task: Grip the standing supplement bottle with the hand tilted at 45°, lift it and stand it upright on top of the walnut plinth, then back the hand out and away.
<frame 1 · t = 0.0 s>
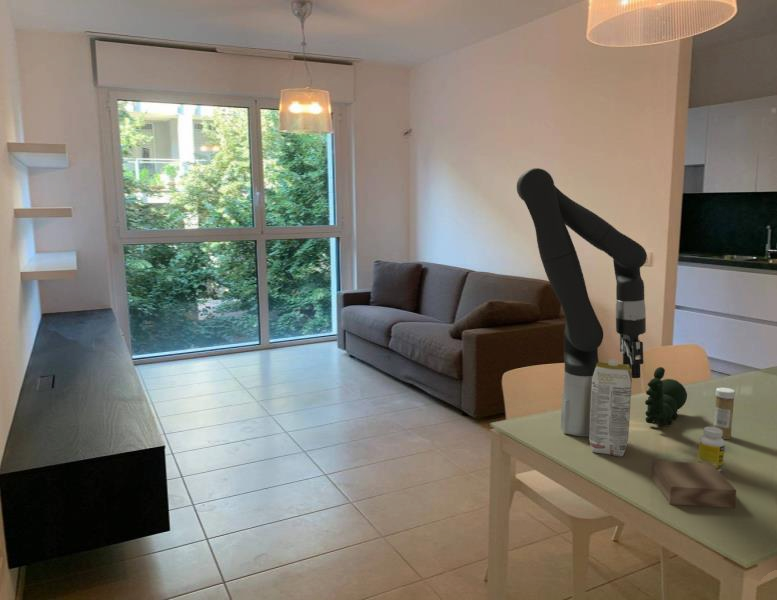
hand: (631, 373, 163), 17 cm above the table, tool pointing down, fingers open, 8 cm apart
supplement bottle: (709, 468, 144), on the table
sprinkles bottle: (721, 437, 163), on the table
walnut plinth: (690, 491, 132), on the table
toy figurine: (663, 420, 176), on the table
juice carton: (608, 451, 154), on the table
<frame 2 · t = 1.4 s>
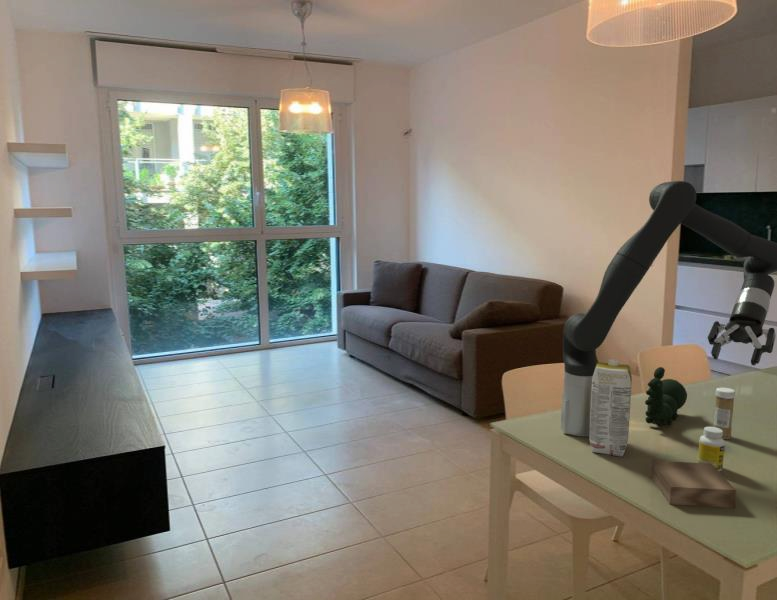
hand: (733, 360, 148), 25 cm above the table, tool tilted 45°, fingers open, 8 cm apart
nothing on the table moved.
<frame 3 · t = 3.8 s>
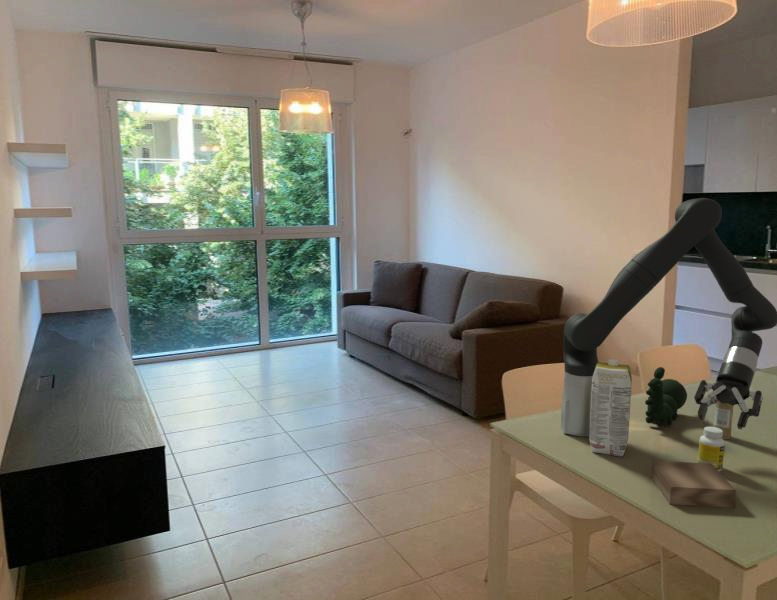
hand: (719, 423, 145), 10 cm above the table, tool tilted 45°, fingers open, 8 cm apart
nothing on the table moved.
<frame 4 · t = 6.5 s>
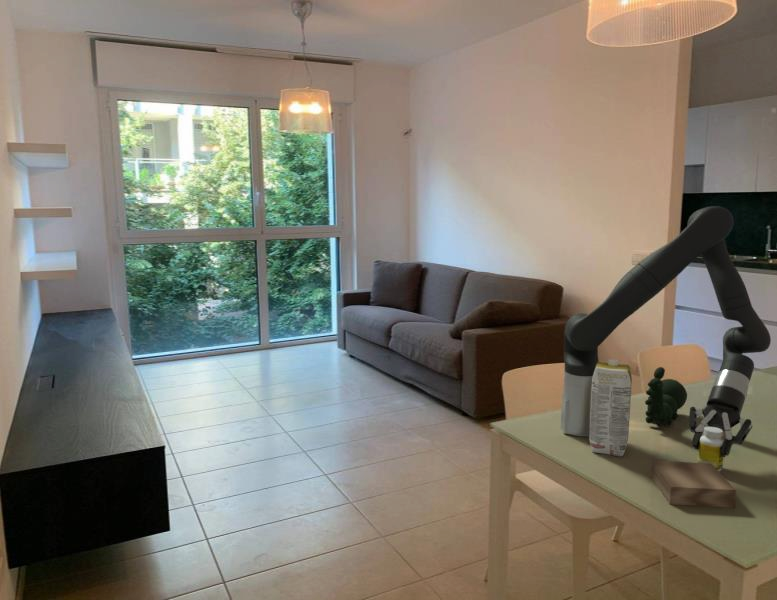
hand: (708, 451, 142), 5 cm above the table, tool tilted 45°, fingers closed on supplement bottle, 5 cm apart
supplement bottle: (709, 468, 144), on the table, touching gripper
everything else where it was.
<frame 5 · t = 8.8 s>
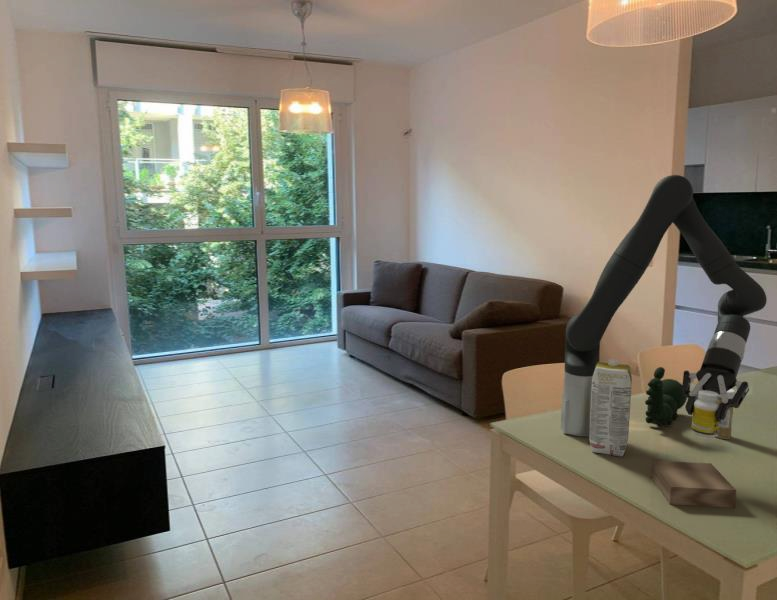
hand: (703, 416, 134), 16 cm above the table, tool tilted 45°, fingers closed on supplement bottle, 5 cm apart
supplement bottle: (704, 434, 136), point 11 cm above the table, touching gripper
everything else where it was.
when the fingers open (10 cm above the table, at t = 11.6 s): supplement bottle drops 1 cm, resting on walnut plinth.
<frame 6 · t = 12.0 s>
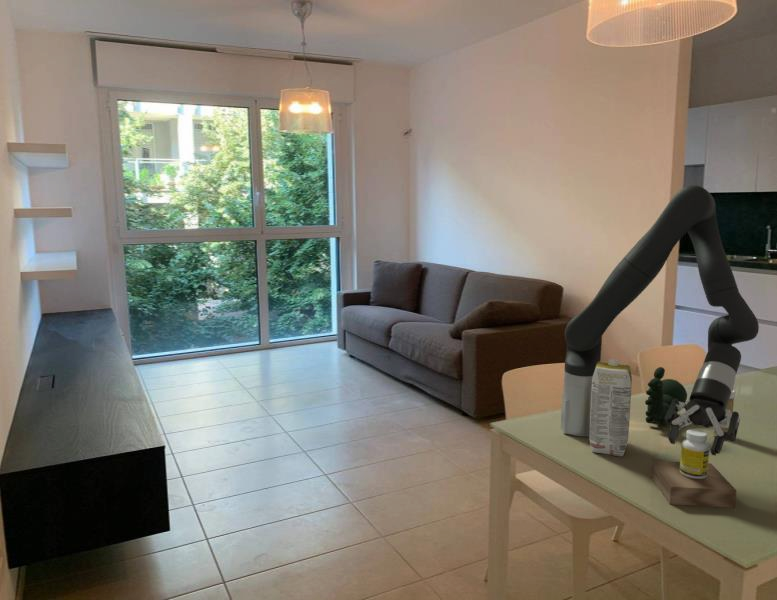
hand: (691, 447, 129), 11 cm above the table, tool tilted 45°, fingers open, 8 cm apart
supplement bottle: (693, 475, 131), point 4 cm above the table, touching walnut plinth
everything else where it was.
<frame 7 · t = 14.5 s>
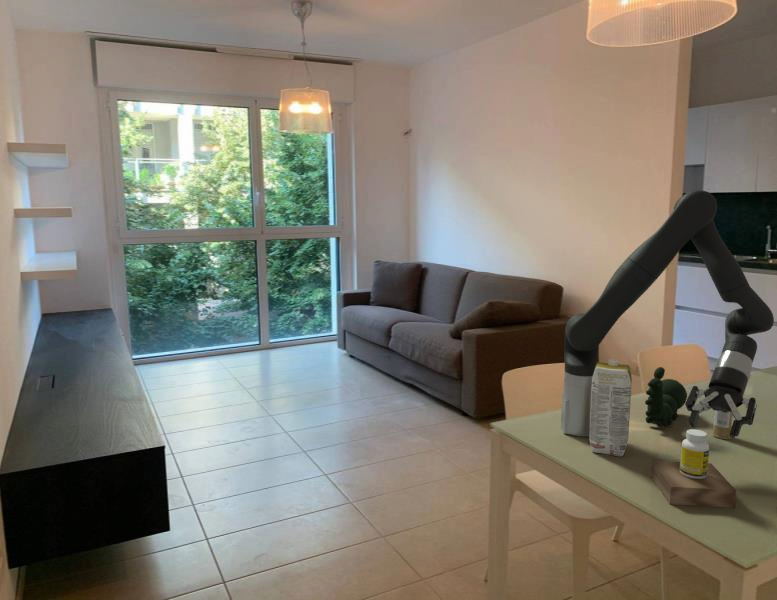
hand: (711, 431, 138), 11 cm above the table, tool tilted 45°, fingers open, 8 cm apart
nothing on the table moved.
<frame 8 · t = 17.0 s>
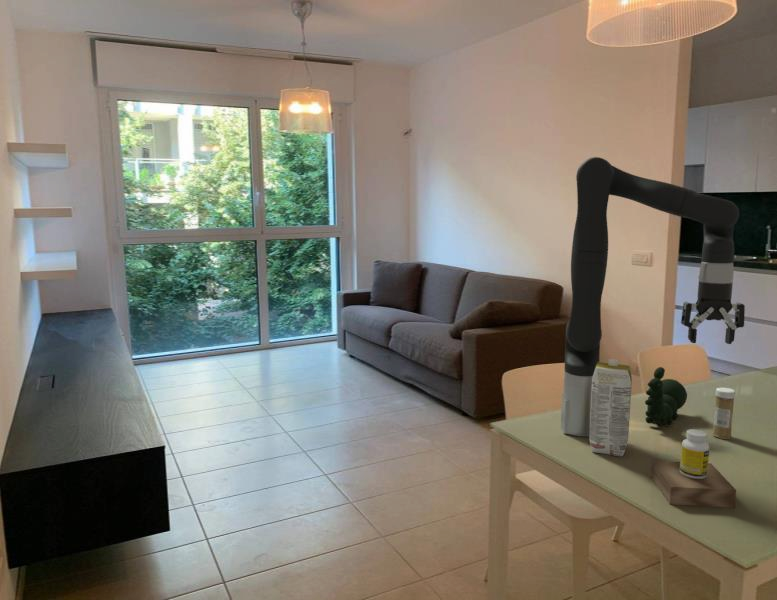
hand: (710, 342, 151), 28 cm above the table, tool pointing down, fingers open, 8 cm apart
nothing on the table moved.
at the end: supplement bottle inside the target area on the walnut plinth (0.3 cm from its centre), point 3.8 cm above the walnut plinth's base; supplement bottle tilted 0°; the gripper is holding nothing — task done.
